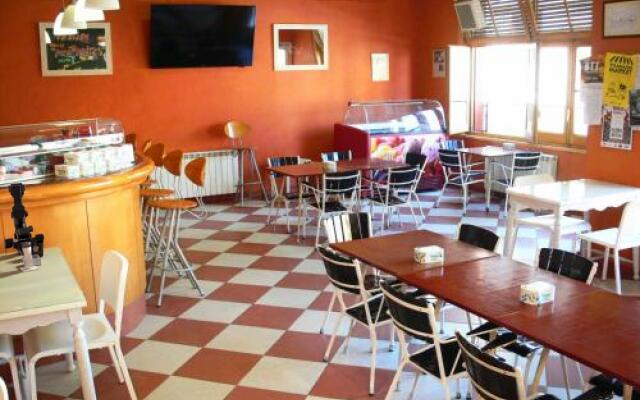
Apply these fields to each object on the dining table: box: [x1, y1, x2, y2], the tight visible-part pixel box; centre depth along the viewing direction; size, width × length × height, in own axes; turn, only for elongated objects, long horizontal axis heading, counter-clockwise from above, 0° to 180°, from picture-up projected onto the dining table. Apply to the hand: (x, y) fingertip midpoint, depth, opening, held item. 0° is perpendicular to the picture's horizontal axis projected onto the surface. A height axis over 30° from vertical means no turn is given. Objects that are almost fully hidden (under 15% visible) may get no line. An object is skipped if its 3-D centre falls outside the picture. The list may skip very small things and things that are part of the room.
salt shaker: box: [22, 242, 33, 268], centre depth 338 cm, size 4×4×12 cm
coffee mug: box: [20, 241, 45, 258], centre depth 362 cm, size 12×9×10 cm
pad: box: [19, 266, 39, 273], centre depth 340 cm, size 8×8×1 cm
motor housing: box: [21, 254, 42, 267], centre depth 348 cm, size 8×8×4 cm
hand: (27, 254), depth 337 cm, fingers closed on salt shaker, 4 cm apart
